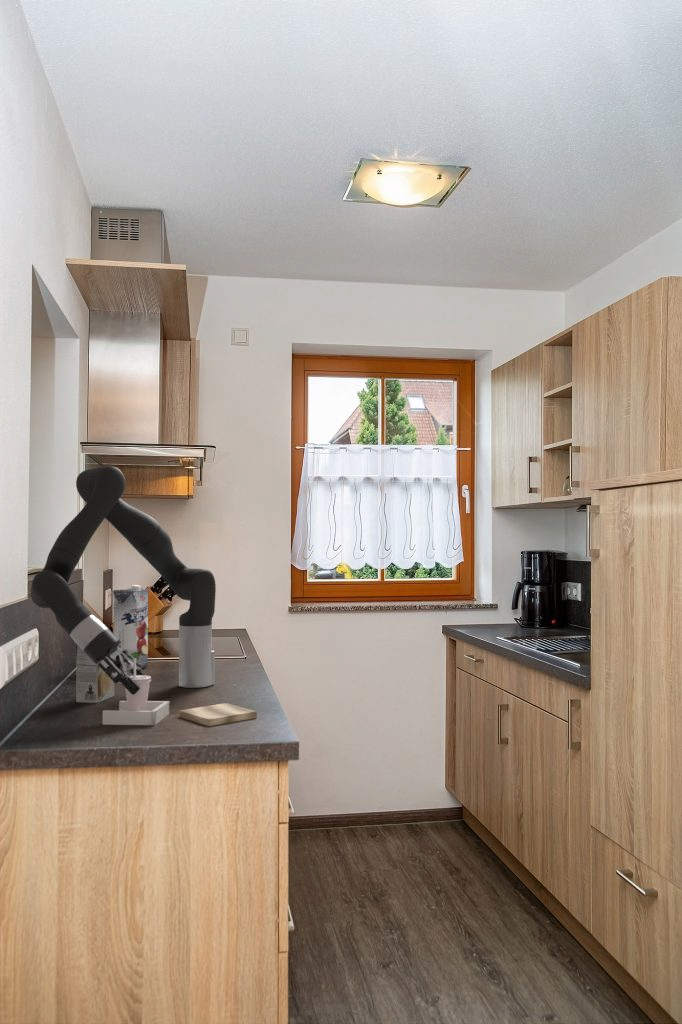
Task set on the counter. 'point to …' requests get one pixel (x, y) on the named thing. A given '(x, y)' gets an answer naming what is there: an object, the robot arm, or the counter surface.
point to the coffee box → (91, 680)
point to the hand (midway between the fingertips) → (142, 688)
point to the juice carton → (132, 622)
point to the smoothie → (140, 698)
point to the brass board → (217, 714)
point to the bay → (137, 714)
